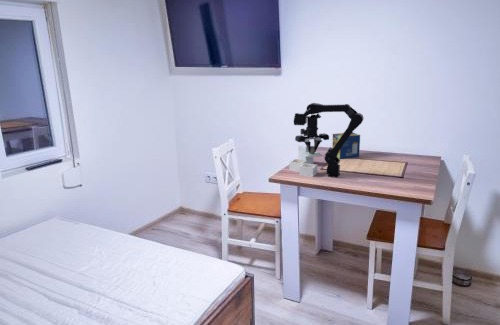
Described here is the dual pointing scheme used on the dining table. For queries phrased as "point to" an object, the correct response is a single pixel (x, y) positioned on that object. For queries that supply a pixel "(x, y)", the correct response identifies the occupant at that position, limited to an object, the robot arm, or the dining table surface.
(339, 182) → the dining table surface
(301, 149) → the small box
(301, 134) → the robot arm
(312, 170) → the pot
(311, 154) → the lid
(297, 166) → the pot
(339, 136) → the protein box
